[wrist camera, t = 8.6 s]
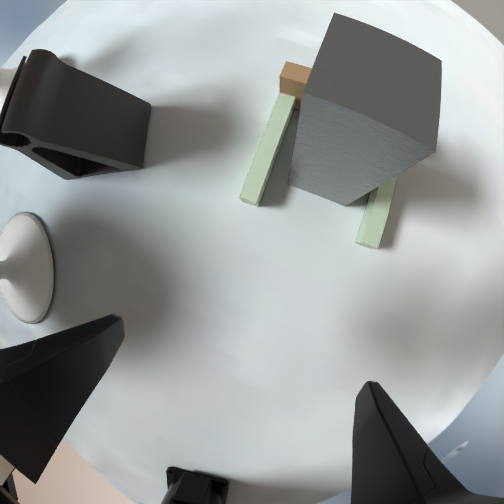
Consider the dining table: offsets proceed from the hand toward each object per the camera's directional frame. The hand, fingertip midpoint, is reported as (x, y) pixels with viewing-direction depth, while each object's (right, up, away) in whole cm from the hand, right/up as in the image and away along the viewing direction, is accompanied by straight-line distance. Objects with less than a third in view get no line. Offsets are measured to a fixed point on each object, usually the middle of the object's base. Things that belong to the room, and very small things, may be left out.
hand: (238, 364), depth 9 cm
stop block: (+6, +10, +11) cm, 16 cm away
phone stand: (-13, +14, +12) cm, 22 cm away
